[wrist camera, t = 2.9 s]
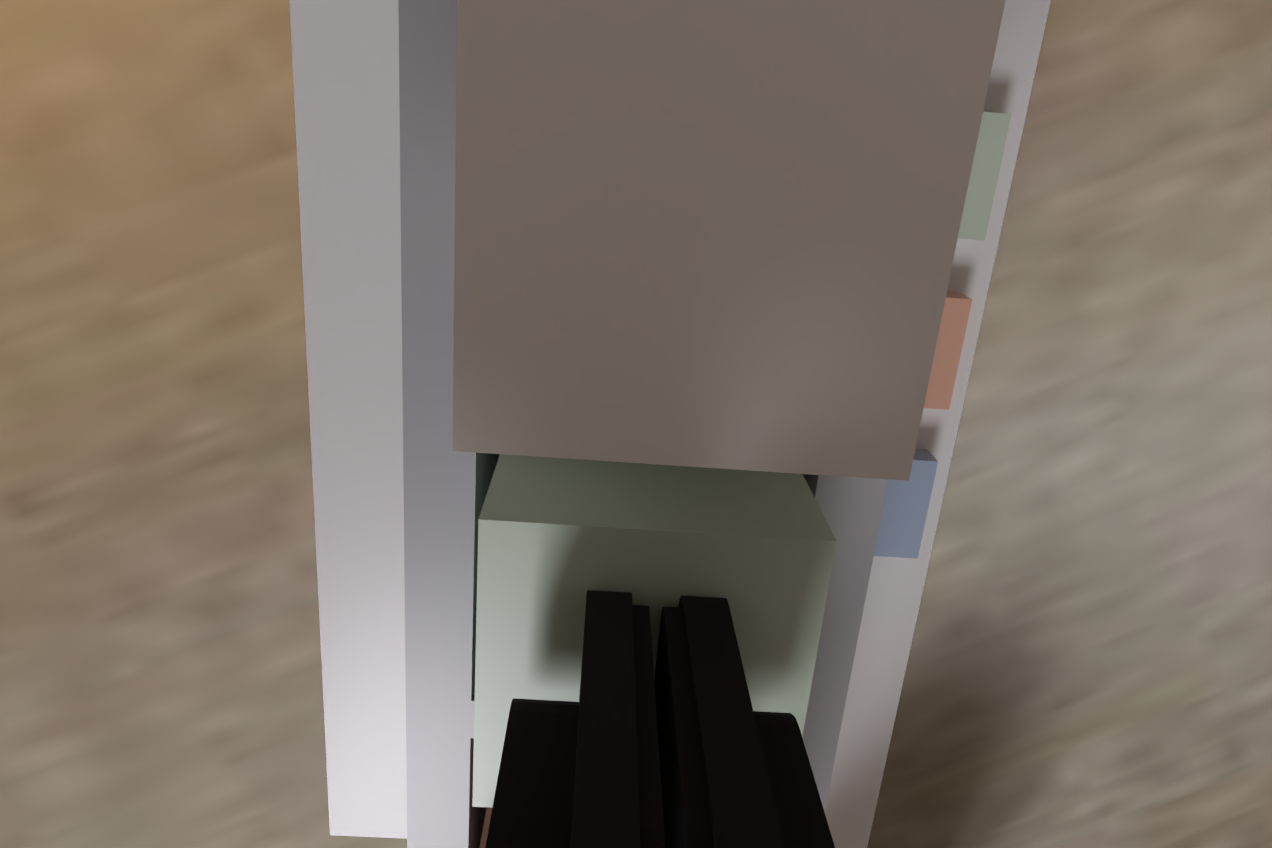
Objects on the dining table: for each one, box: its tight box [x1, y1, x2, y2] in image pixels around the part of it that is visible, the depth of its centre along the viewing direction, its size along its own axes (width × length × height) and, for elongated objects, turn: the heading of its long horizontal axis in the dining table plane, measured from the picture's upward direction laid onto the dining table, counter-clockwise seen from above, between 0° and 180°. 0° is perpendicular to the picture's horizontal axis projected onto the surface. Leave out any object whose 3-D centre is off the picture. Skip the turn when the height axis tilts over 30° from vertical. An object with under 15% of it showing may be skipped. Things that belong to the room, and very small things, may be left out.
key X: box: [453, 0, 1005, 481], centre depth 9 cm, size 4×4×5 cm
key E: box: [472, 454, 837, 808], centre depth 13 cm, size 4×4×5 cm
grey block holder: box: [290, 0, 1051, 848], centre depth 14 cm, size 24×12×5 cm, turn 175°
